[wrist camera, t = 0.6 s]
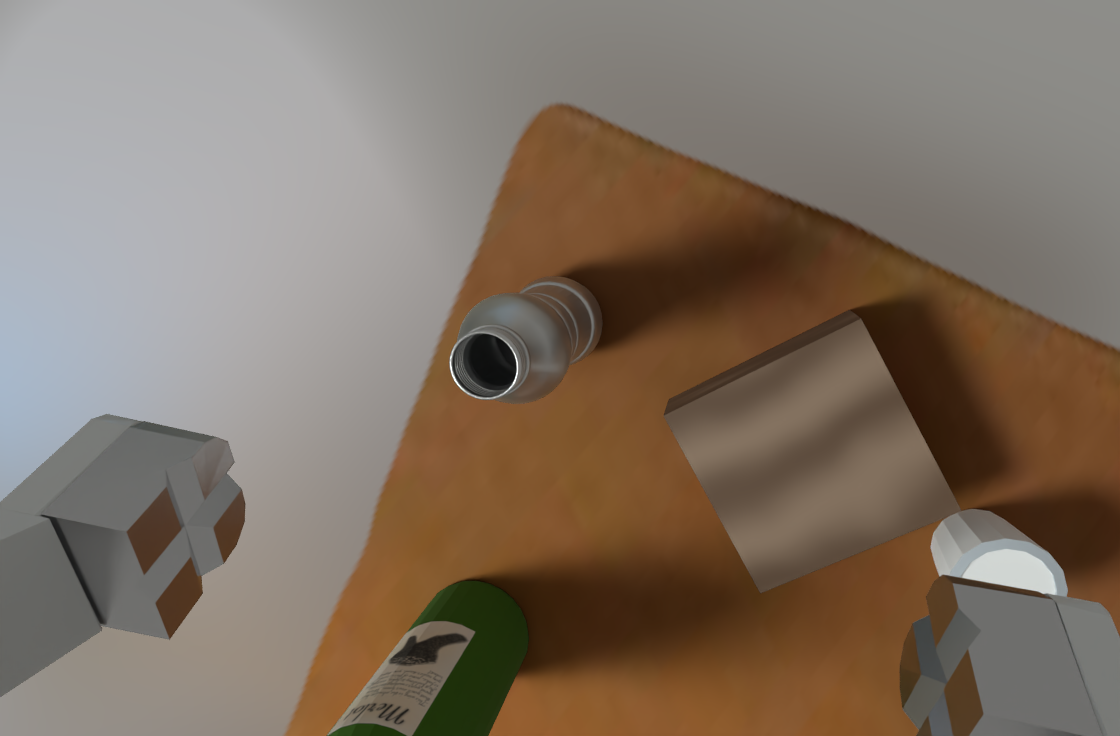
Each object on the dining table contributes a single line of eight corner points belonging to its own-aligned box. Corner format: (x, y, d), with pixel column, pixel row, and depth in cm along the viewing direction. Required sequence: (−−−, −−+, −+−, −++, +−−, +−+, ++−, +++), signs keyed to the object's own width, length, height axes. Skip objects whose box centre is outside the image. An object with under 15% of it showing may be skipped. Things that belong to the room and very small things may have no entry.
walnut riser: (941, 485, 56) (961, 510, 51) (757, 562, 59) (760, 593, 55) (849, 309, 55) (861, 318, 50) (668, 399, 59) (663, 415, 54)
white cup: (899, 548, 57) (922, 592, 50) (972, 480, 55) (1005, 517, 49) (975, 611, 57) (1007, 663, 50) (1050, 545, 55) (1094, 591, 48)
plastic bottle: (528, 264, 59) (431, 287, 40) (617, 285, 58) (561, 318, 39) (512, 348, 60) (410, 409, 41) (598, 369, 59) (535, 442, 40)
